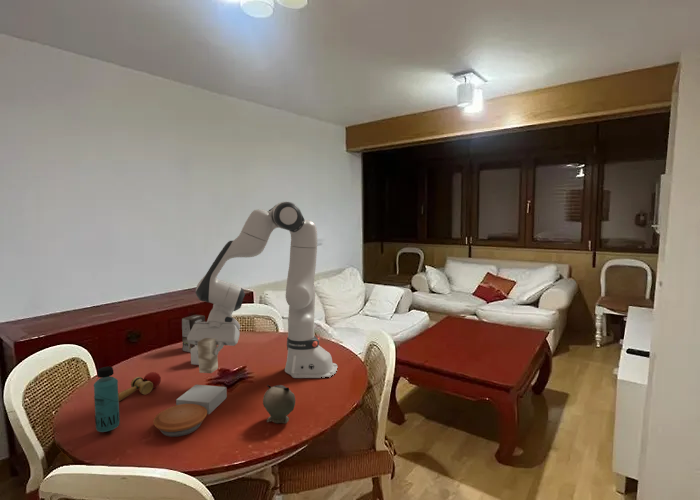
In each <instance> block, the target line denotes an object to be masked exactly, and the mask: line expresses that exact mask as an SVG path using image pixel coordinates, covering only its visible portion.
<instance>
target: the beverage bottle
mask: <svg viewBox="0 0 700 500" xmlns="http://www.w3.org/2000/svg"><path fill="white" fill-rule="evenodd" d="M96 375H97V378H99V379H97V380H96V381H95V382H94V383H93V391H94V393H93V394H94V395H93V401H94V422H95V423H94V426H95V429H96V431H97V432H99V433H104V432H111V431H113V430H114V429H117V428H118V427H119V426H120V422H121V420H120V419H121V416H120V415H121V414H120V401H119V400H118V393H119V386H118V385H119V384H118V383H119V381H118V379H117V378H116V377H113V375H114V368H113V367H112V366H103V367H100V368H99V369H97V374H96Z"/></svg>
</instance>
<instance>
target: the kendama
mask: <svg viewBox="0 0 700 500" xmlns="http://www.w3.org/2000/svg"><path fill="white" fill-rule="evenodd" d="M161 380H162V378H161V375H160V374H159V373H158V372H156V371H155V372H154V371H151V372H148V373H147V374H145V376H144V377H141V376H135V377H134V378H133V379H132V381H131V382H130V386H131V387H129V388H127V389H124V390H123V391H120V392H118V400H119V402H121V401H122V400H124V399H126V398H127V397H129V396H130V395H132V394H133V393H135V392H136V391H137V390H139V393H140V394H142V395H148V394H150V393H151V392H152V391H153V389H155V388H157V387H158V386H159V385H160V383H161Z"/></svg>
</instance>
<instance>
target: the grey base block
mask: <svg viewBox="0 0 700 500" xmlns="http://www.w3.org/2000/svg"><path fill="white" fill-rule="evenodd" d="M227 397H228V394H227V386H217V385H206V384H194V385H192V387H191V388H189V389H188V390H187V391H186V392H184V393H183V394H181V395H180V396H179V397H178V398H176V399H175V401H176V402H175V404H176V405H180V404H196V405H200V406H203V407H205V408H206V409H207V415H210V414H212V412H213V411H215V410H216V409H217V407H219V406H220V405H221V404H222V403H223V402H224V401H225V400H227ZM176 405H175V406H176Z"/></svg>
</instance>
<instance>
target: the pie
mask: <svg viewBox="0 0 700 500" xmlns="http://www.w3.org/2000/svg"><path fill="white" fill-rule="evenodd" d="M207 415H208V414H207V409H206V408H205V407H203V406H200V405H196V404H180V405H173V406H171V407H168V408H166V409H165V410H162V411H160V412H159V413H158V414H156V415H155V416H154V419H153V425H154V426H155V428H156V429H158V430H159V431H160V432H161V433H162V434H163V436H166V437H171V438H173V437H174V438H176V437H183V436H186V435H189V434H191V433H194V432H195V431H197V430H198V429H199V427H201V425H202V424H203V421H204V420H205V419H206V418H207Z"/></svg>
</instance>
